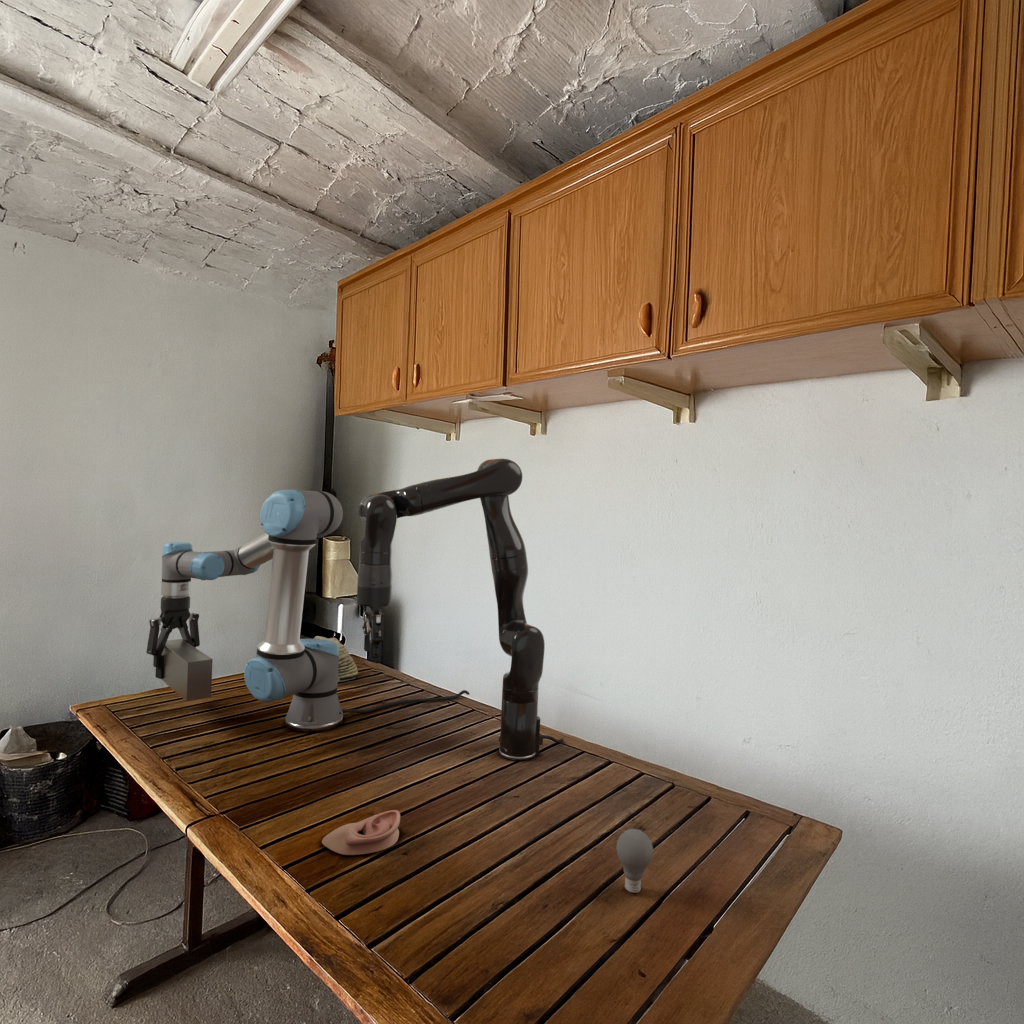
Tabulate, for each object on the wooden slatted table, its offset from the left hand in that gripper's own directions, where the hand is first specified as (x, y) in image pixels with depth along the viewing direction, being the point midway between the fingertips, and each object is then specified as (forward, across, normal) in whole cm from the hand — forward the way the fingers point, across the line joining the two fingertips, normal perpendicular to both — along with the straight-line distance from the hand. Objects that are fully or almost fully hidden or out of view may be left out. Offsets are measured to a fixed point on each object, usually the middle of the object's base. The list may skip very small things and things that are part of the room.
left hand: (172, 674), depth 183 cm
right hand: (-19, -2, -77) cm, 79 cm away
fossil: (+10, +47, -14) cm, 50 cm away
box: (+1, -3, -9) cm, 10 cm away
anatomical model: (+9, -22, -94) cm, 97 cm away
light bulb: (+9, -8, -142) cm, 142 cm away
